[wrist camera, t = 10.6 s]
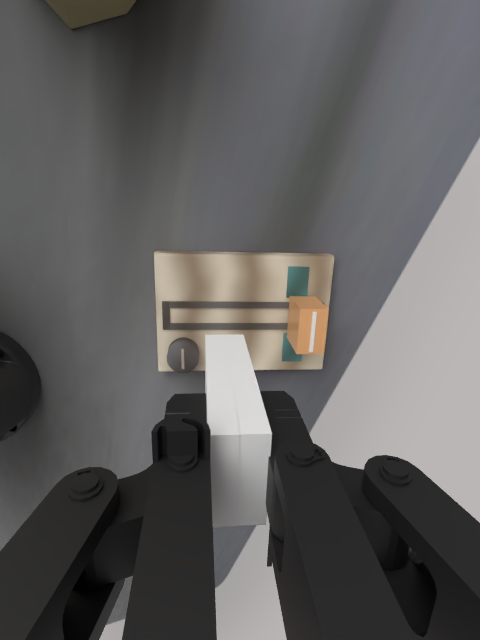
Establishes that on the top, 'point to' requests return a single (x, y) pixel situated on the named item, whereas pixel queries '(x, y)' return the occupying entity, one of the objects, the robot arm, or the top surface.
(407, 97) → the top surface
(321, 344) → the fader knob
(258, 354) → the console
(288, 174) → the top surface
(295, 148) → the top surface
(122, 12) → the container
